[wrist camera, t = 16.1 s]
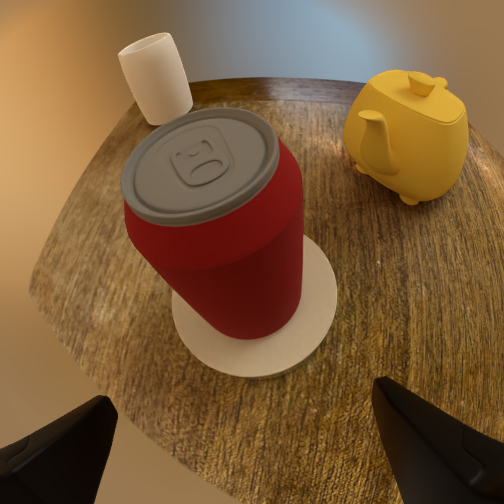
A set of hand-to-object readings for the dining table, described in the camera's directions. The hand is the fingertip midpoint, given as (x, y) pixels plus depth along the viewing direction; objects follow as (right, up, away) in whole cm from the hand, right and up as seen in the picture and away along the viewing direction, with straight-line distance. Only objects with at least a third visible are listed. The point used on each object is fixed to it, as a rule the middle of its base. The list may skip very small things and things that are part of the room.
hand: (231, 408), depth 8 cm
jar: (+1, 0, +15) cm, 15 cm away
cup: (-12, +27, +33) cm, 44 cm away
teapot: (+17, +14, +21) cm, 31 cm away
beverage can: (+1, +2, +11) cm, 11 cm away
